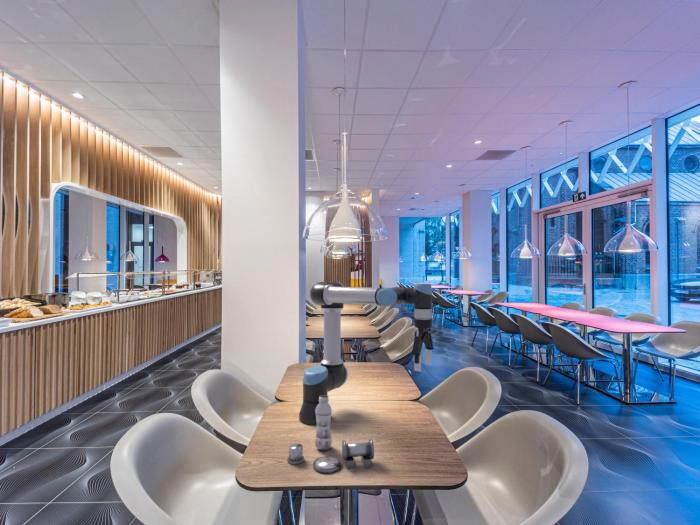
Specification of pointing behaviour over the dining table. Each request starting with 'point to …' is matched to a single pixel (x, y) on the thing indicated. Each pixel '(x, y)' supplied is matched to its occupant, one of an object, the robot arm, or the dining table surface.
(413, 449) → the dining table surface
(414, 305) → the robot arm
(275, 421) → the dining table surface
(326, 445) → the plastic bottle
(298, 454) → the metal thimble
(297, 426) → the dining table surface
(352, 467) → the grey metal parts
